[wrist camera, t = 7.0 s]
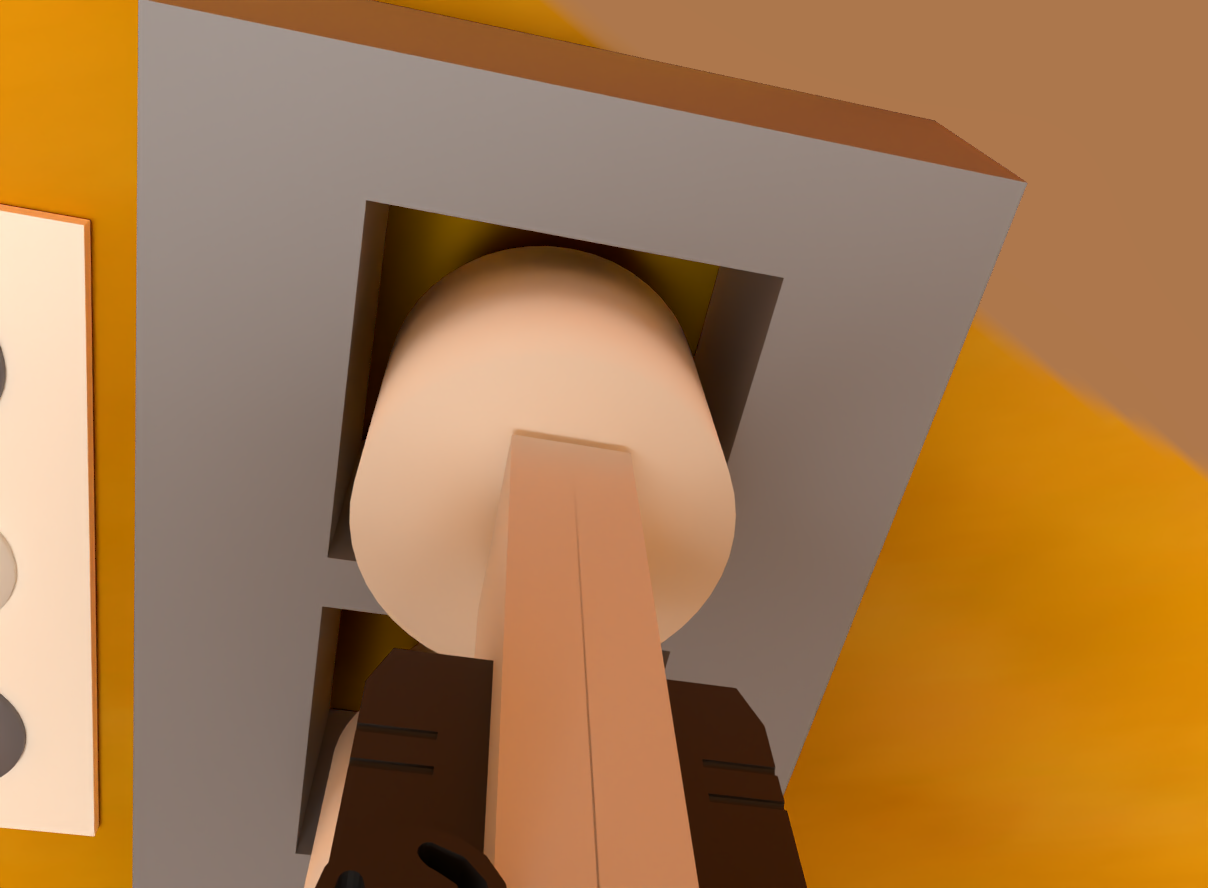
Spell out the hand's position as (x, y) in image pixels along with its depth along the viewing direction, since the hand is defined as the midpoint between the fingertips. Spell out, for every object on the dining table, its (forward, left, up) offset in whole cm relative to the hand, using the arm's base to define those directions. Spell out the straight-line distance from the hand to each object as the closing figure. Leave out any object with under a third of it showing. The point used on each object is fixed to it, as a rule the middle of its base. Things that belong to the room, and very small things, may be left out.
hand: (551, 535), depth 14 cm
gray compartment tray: (0, -7, -7) cm, 10 cm away
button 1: (0, 0, -6) cm, 6 cm away
